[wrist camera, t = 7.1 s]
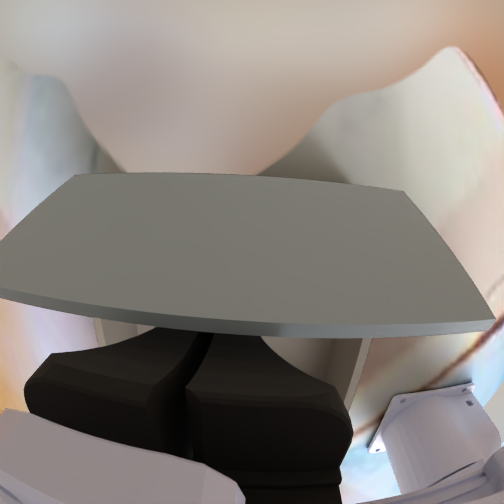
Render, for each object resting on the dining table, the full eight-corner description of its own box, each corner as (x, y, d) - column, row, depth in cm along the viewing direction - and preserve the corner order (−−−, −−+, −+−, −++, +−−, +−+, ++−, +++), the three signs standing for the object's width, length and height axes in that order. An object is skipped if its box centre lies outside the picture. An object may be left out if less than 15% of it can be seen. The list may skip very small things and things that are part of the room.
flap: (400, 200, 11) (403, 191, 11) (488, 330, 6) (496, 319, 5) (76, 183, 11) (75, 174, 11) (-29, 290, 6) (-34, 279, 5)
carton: (362, 197, 17) (398, 212, 12) (326, 388, 21) (338, 437, 16) (123, 184, 17) (79, 195, 12) (141, 374, 21) (119, 419, 16)
